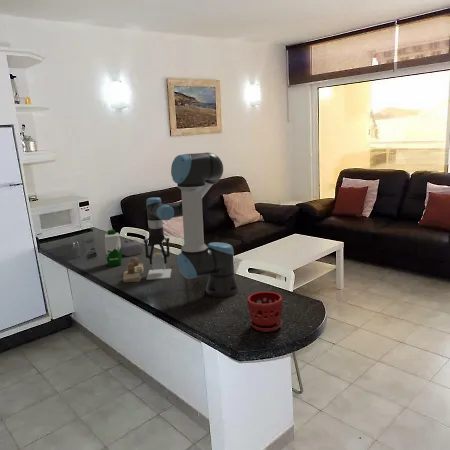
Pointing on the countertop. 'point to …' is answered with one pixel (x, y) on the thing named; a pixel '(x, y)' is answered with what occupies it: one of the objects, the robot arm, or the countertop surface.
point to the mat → (159, 274)
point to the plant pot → (265, 311)
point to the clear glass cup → (158, 260)
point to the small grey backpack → (130, 247)
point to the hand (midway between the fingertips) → (158, 269)
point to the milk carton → (113, 248)
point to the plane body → (133, 271)
